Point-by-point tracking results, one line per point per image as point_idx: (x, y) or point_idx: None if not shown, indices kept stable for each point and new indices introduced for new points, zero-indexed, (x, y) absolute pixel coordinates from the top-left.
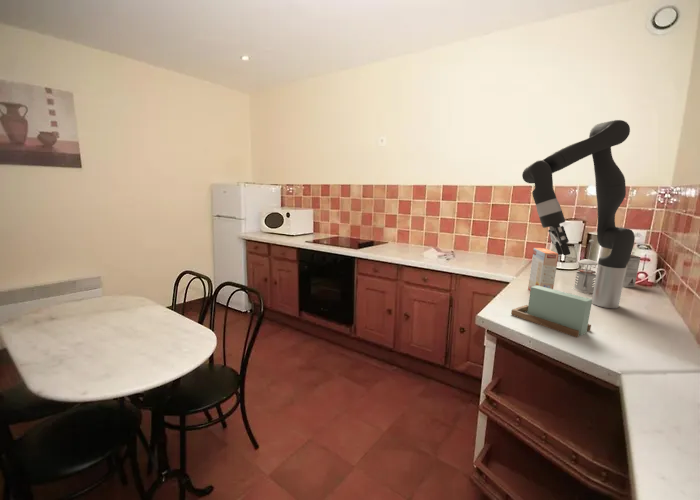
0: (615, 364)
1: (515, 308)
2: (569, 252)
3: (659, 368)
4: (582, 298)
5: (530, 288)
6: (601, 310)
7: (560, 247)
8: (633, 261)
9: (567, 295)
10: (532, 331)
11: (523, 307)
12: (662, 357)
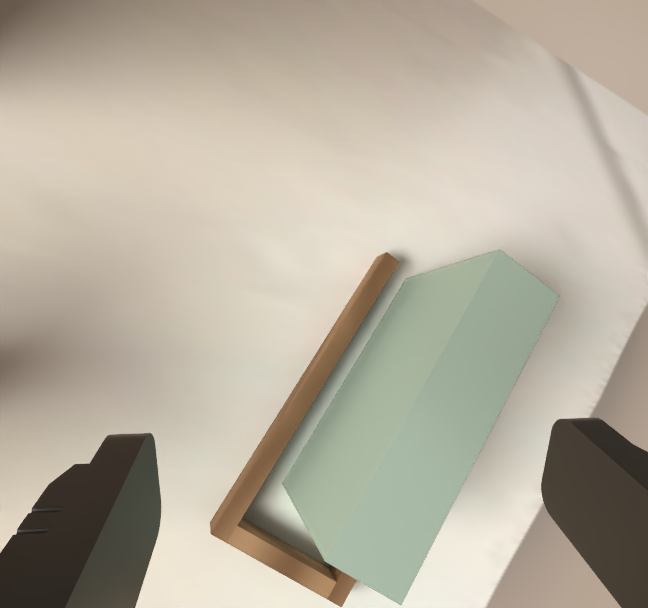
0: (622, 265)
1: (312, 589)
2: (607, 437)
3: (591, 150)
4: (511, 302)
5: None
6: (9, 94)
7: (106, 581)
8: None
9: (492, 378)
10: (495, 490)
11: (271, 548)
12: (512, 100)
